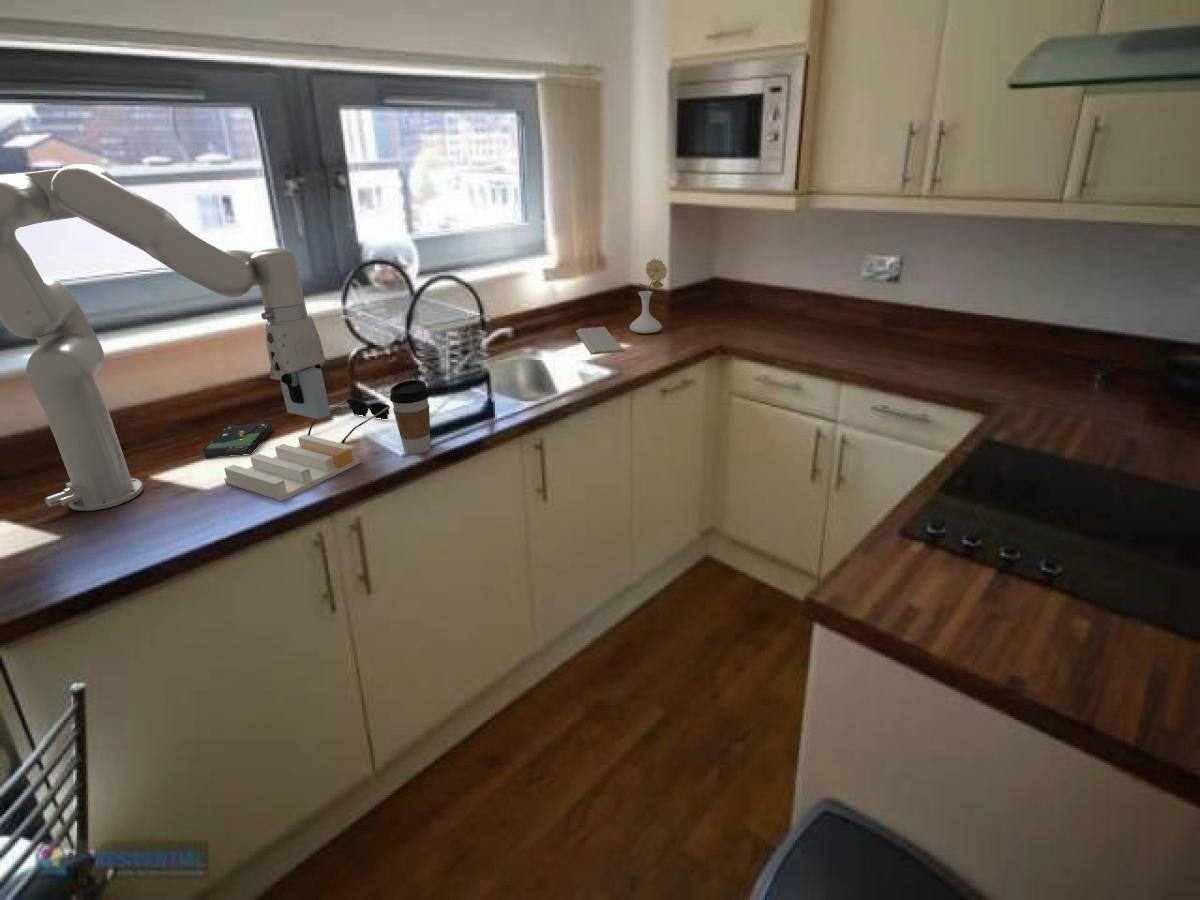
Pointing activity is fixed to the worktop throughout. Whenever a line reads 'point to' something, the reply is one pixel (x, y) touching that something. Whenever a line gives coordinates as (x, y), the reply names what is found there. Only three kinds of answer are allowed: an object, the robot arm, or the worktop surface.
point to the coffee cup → (412, 415)
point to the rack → (293, 467)
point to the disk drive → (237, 440)
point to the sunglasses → (363, 411)
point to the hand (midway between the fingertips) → (305, 399)
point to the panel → (308, 394)
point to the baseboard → (598, 340)
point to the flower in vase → (645, 320)
